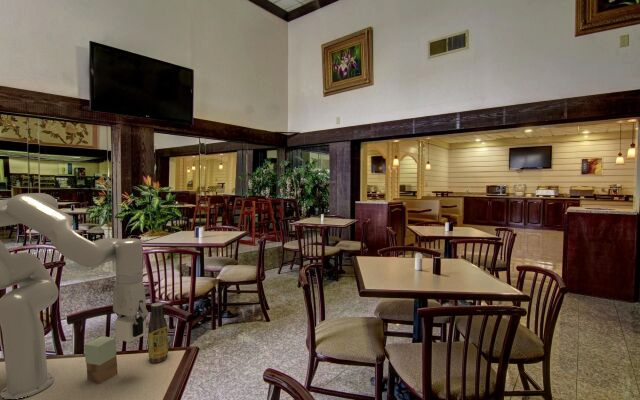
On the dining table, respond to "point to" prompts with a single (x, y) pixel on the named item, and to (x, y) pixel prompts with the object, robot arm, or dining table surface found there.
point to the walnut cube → (102, 371)
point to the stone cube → (127, 329)
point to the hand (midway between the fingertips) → (131, 332)
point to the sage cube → (100, 350)
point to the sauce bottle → (157, 334)
